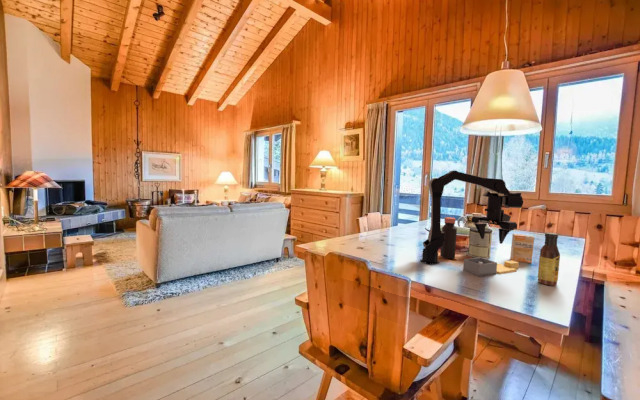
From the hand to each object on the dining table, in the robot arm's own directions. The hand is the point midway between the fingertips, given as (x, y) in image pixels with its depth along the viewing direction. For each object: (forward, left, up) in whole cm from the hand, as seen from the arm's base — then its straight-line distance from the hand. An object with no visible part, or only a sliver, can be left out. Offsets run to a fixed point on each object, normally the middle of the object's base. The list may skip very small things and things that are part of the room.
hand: (491, 241), depth 134 cm
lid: (+3, -4, -12) cm, 13 cm away
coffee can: (+11, +15, -12) cm, 22 cm away
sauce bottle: (+4, -22, -12) cm, 25 cm away
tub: (-11, -4, -12) cm, 17 cm away
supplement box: (+24, +2, -12) cm, 27 cm away
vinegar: (-7, +18, -12) cm, 23 cm away
